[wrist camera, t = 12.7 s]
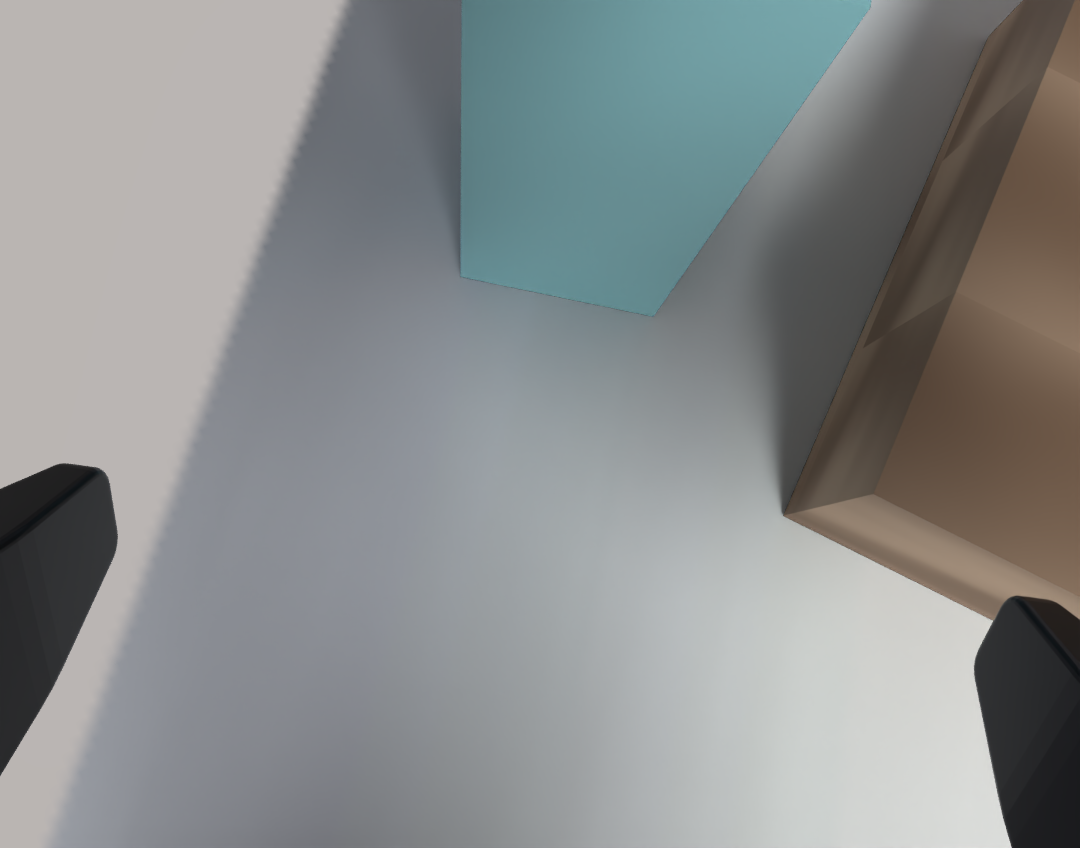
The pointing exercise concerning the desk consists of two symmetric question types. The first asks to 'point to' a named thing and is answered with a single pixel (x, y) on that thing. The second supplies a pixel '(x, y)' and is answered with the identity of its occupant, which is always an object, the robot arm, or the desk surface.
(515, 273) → the plug
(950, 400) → the brown flat block
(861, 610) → the desk surface
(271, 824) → the desk surface
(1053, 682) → the robot arm
